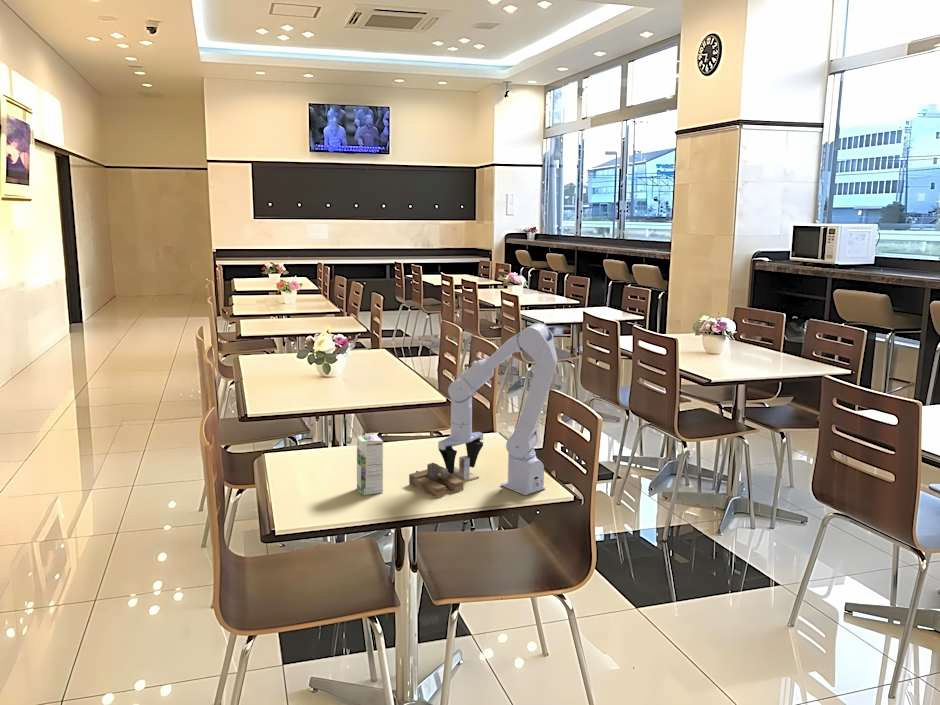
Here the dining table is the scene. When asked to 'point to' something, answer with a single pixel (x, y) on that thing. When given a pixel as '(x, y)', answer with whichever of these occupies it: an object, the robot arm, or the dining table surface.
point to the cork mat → (471, 477)
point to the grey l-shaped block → (462, 468)
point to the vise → (435, 481)
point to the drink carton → (369, 464)
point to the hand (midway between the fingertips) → (460, 469)
